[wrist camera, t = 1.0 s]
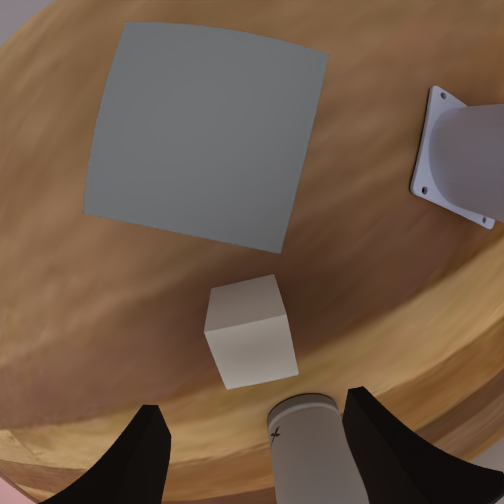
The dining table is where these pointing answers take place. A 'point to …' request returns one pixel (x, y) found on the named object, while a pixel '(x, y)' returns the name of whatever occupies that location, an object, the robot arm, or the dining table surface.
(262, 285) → the top block
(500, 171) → the robot arm
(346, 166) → the dining table surface
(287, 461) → the travel mug
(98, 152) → the base block
